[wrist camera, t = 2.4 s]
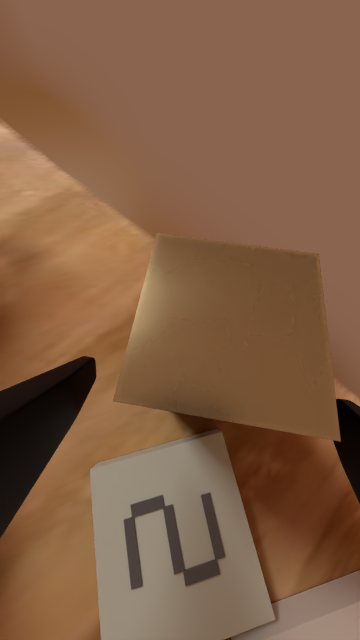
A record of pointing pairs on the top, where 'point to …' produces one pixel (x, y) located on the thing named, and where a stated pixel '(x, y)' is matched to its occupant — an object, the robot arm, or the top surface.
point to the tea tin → (232, 337)
